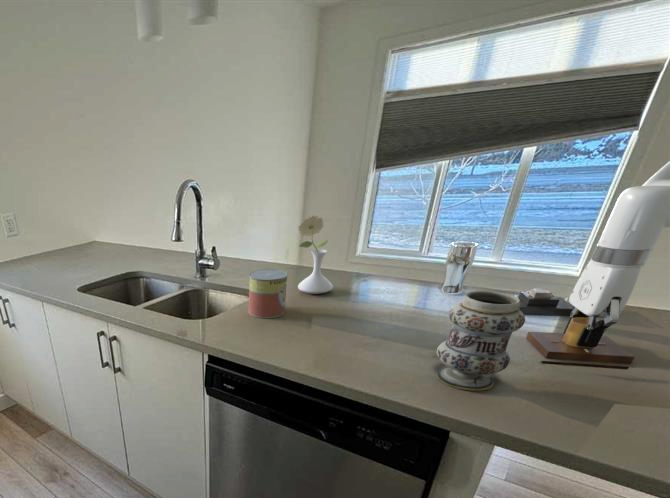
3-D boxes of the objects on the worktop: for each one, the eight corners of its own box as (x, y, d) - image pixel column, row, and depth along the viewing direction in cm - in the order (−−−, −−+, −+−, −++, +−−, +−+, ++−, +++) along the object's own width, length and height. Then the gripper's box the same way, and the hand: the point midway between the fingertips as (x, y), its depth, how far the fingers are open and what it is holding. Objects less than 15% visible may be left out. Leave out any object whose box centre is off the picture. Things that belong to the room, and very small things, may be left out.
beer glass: (434, 293, 130) (447, 245, 123) (441, 287, 134) (454, 240, 126) (459, 296, 125) (474, 247, 118) (466, 290, 129) (481, 242, 122)
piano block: (557, 304, 115) (563, 290, 113) (574, 317, 107) (581, 302, 105) (497, 302, 119) (502, 289, 117) (509, 314, 111) (514, 300, 109)
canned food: (278, 320, 121) (281, 280, 115) (243, 315, 127) (243, 278, 121) (289, 307, 129) (292, 270, 123) (255, 304, 135) (256, 268, 129)
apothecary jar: (509, 379, 84) (544, 295, 75) (484, 401, 78) (518, 313, 69) (445, 361, 92) (469, 283, 83) (419, 378, 87) (441, 298, 78)
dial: (557, 337, 91) (567, 315, 89) (587, 339, 90) (598, 316, 87) (568, 346, 87) (578, 324, 85) (599, 348, 85) (611, 325, 83)
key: (544, 295, 112) (546, 288, 111) (549, 299, 109) (552, 292, 108) (528, 294, 113) (530, 288, 112) (533, 298, 110) (535, 292, 109)
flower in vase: (333, 287, 143) (343, 211, 131) (330, 297, 134) (341, 217, 122) (295, 285, 148) (301, 213, 136) (290, 295, 139) (296, 218, 127)
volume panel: (599, 347, 92) (605, 334, 90) (627, 369, 83) (635, 356, 82) (523, 343, 97) (528, 330, 95) (543, 363, 88) (548, 350, 86)
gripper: (574, 246, 87) (541, 324, 96) (619, 267, 73) (575, 356, 83) (620, 246, 85) (581, 326, 94) (675, 267, 71) (624, 359, 80)
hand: (579, 339), depth 88 cm, fingers closed on dial, 5 cm apart
